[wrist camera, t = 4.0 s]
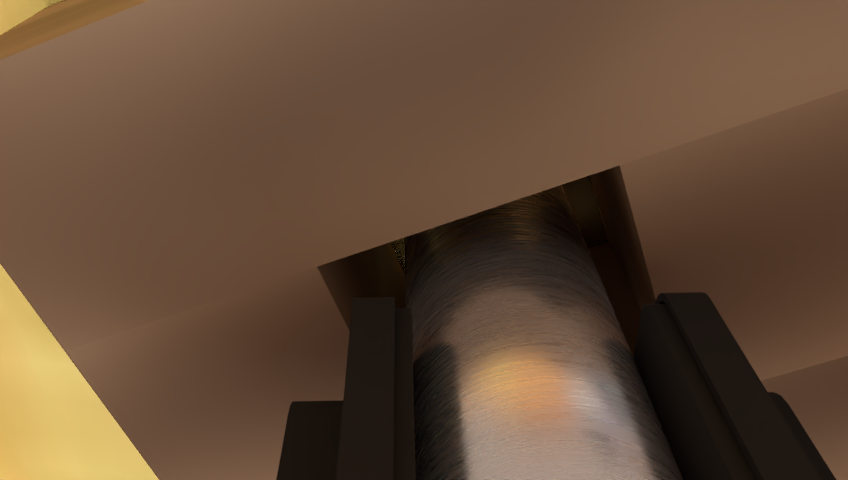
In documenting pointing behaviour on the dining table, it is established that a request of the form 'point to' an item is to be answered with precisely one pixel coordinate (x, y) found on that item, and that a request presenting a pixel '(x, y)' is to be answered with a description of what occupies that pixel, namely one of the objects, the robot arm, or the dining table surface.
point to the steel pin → (523, 354)
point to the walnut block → (407, 185)
